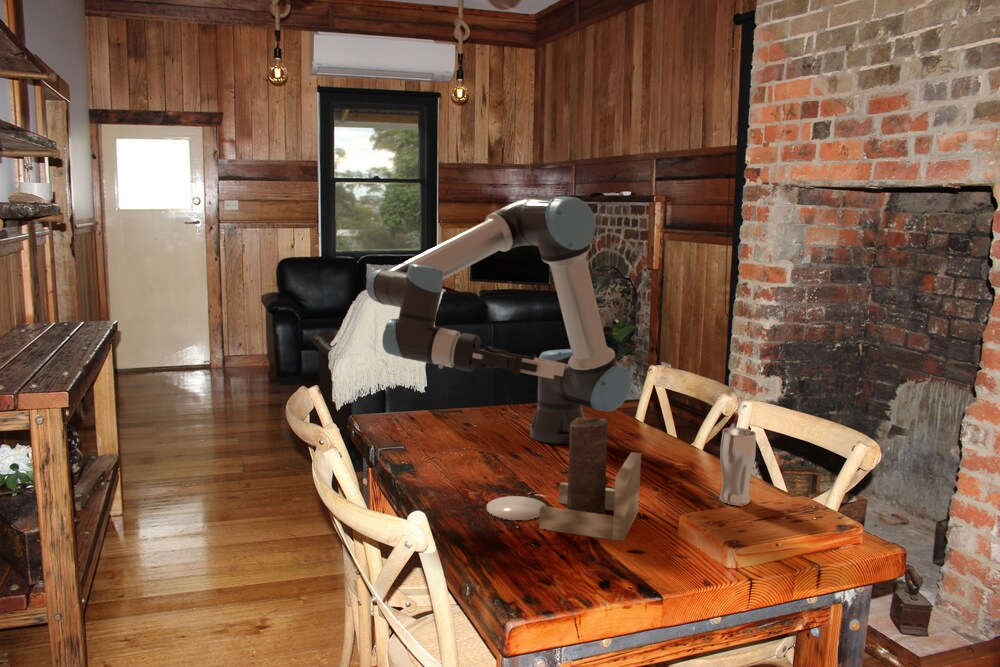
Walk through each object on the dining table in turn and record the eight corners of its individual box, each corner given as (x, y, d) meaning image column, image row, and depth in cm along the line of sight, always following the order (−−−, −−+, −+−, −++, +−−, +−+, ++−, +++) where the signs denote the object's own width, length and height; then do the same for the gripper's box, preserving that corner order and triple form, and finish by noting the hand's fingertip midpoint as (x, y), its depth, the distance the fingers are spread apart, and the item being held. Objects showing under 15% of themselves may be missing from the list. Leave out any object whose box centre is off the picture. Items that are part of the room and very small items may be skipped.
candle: (593, 529, 156) (597, 426, 153) (559, 521, 160) (562, 420, 157) (610, 517, 163) (614, 418, 160) (577, 509, 167) (580, 412, 164)
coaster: (511, 494, 174) (511, 492, 174) (558, 508, 167) (558, 505, 167) (474, 510, 165) (474, 507, 165) (522, 525, 158) (522, 523, 158)
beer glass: (711, 501, 173) (715, 431, 170) (727, 493, 178) (731, 425, 175) (742, 510, 168) (747, 438, 166) (757, 501, 173) (762, 431, 171)
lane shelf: (539, 528, 156) (540, 467, 154) (560, 500, 171) (562, 444, 169) (623, 541, 151) (626, 478, 149) (638, 511, 166) (641, 453, 164)
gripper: (469, 366, 181) (564, 386, 177) (437, 370, 157) (546, 392, 152) (475, 333, 181) (570, 351, 177) (444, 331, 157) (553, 352, 152)
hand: (559, 371), depth 164 cm, fingers open, 13 cm apart
